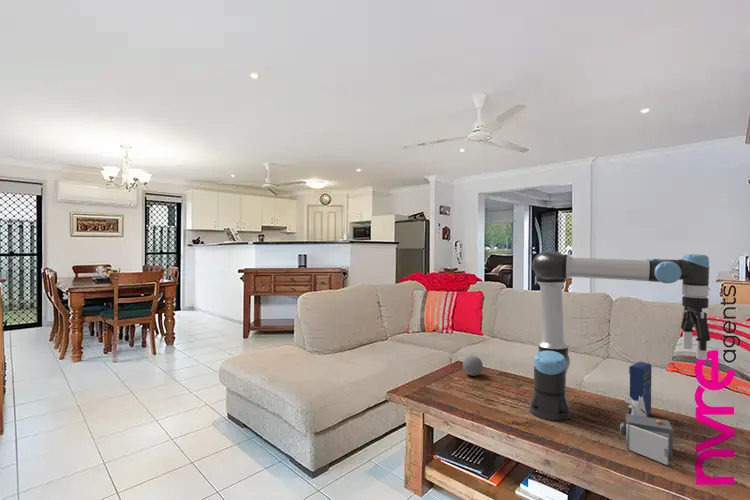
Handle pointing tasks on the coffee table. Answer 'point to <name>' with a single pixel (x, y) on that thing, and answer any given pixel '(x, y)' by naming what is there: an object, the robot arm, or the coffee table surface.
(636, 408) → the figurine
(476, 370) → the decorative ball
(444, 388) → the coffee table surface
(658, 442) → the door
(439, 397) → the coffee table surface
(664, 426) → the camera body
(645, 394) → the electronic device
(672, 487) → the coffee table surface
